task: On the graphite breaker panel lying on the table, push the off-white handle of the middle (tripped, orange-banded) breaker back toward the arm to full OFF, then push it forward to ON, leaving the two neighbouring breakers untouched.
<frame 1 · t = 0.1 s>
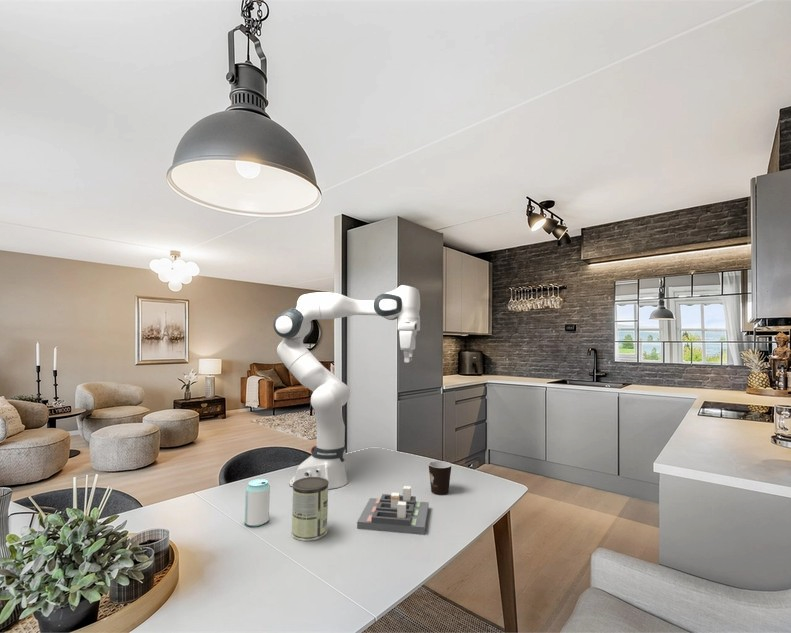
hand: (408, 361, 152), 48 cm above the table, fingers open, 8 cm apart
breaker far: (407, 495, 129), point 5 cm above the table, slide at 3.0 cm
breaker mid: (395, 502, 123), point 5 cm above the table, slide at 0.0 cm
coffee can: (309, 533, 113), on the table
can: (256, 522, 119), on the table
coffee mug: (439, 490, 147), on the table
breaker near: (401, 511, 117), point 5 cm above the table, slide at 3.0 cm
panel: (394, 517, 123), on the table
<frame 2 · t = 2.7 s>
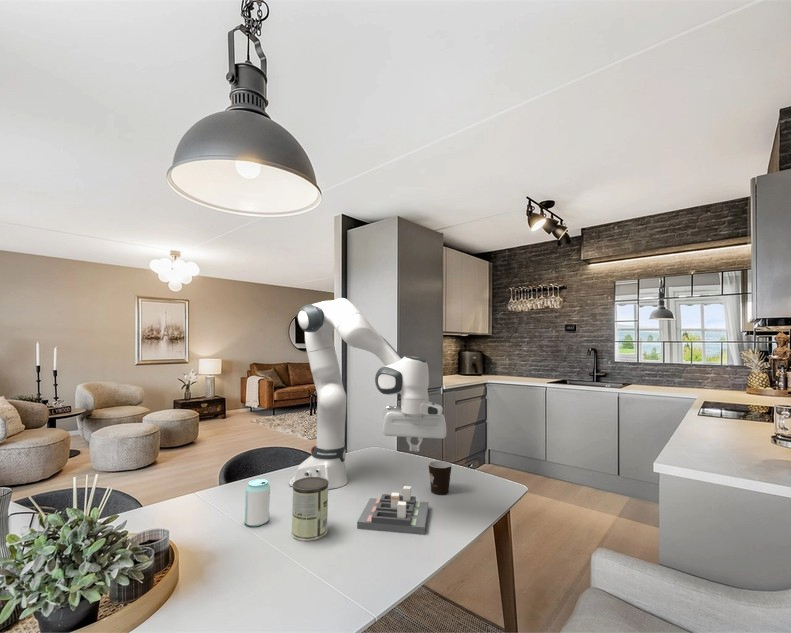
hand: (414, 451, 124), 21 cm above the table, fingers closed
nothing on the table moved.
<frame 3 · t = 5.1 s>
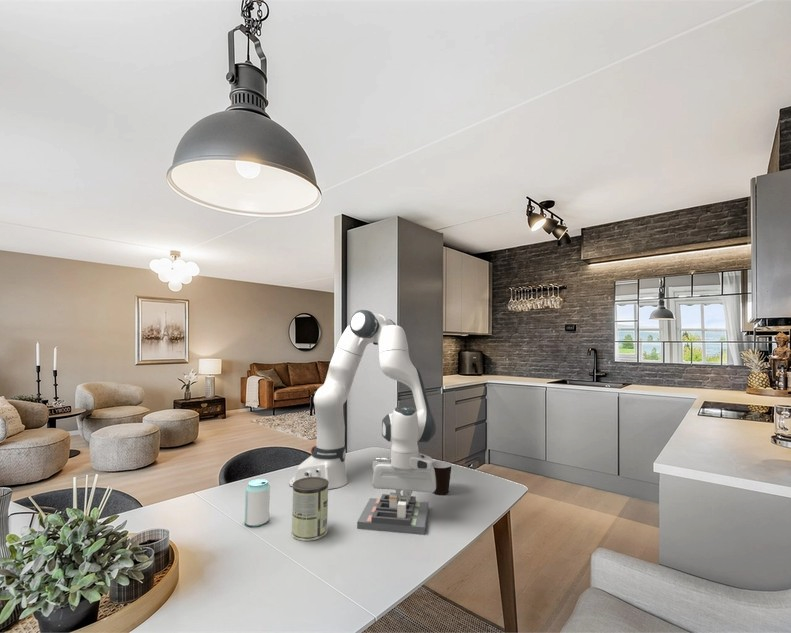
hand: (403, 503, 123), 4 cm above the table, fingers closed
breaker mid: (393, 502, 124), point 5 cm above the table, slide at -0.5 cm, touching gripper
everything else where it was.
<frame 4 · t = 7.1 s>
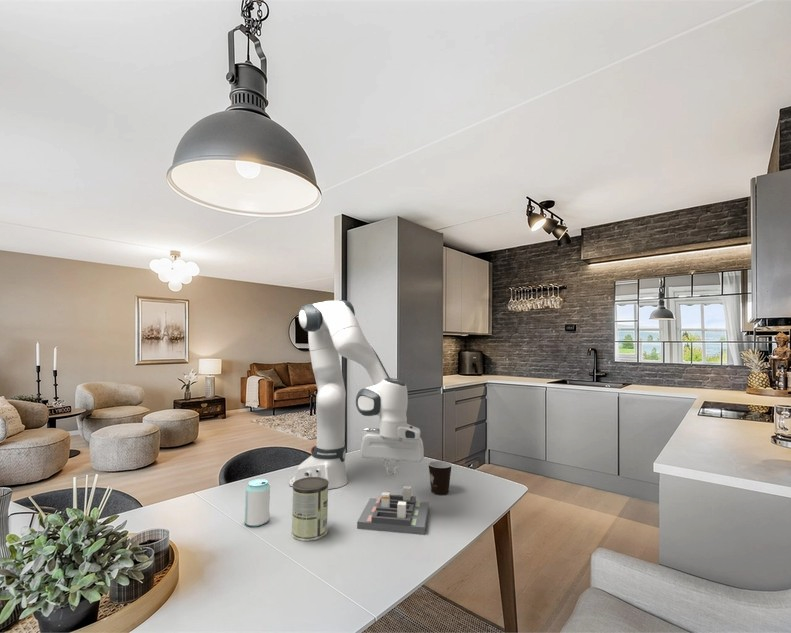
hand: (391, 473, 124), 14 cm above the table, fingers closed
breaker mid: (385, 501, 124), point 5 cm above the table, slide at -3.1 cm
everything else where it was.
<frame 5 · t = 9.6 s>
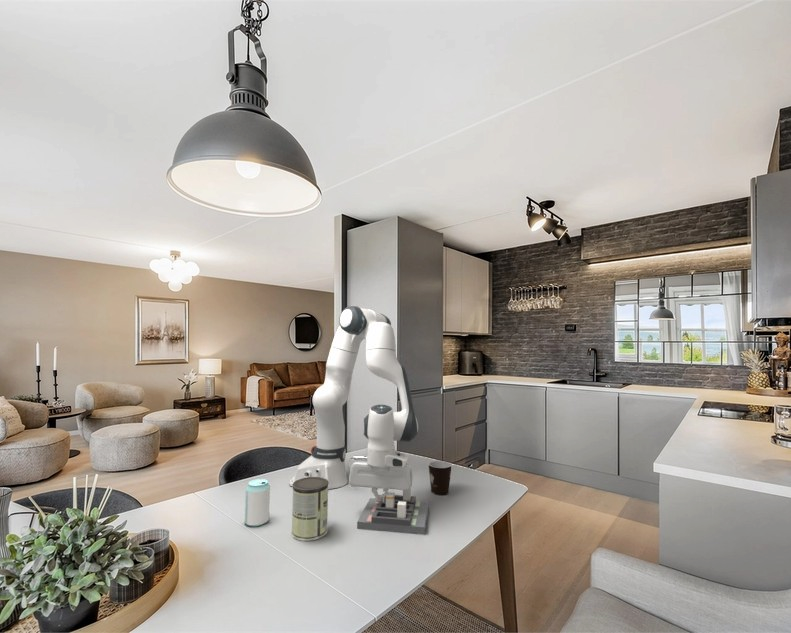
hand: (380, 501, 124), 5 cm above the table, fingers closed
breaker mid: (390, 501, 124), point 5 cm above the table, slide at -1.6 cm, touching gripper
everything else where it was.
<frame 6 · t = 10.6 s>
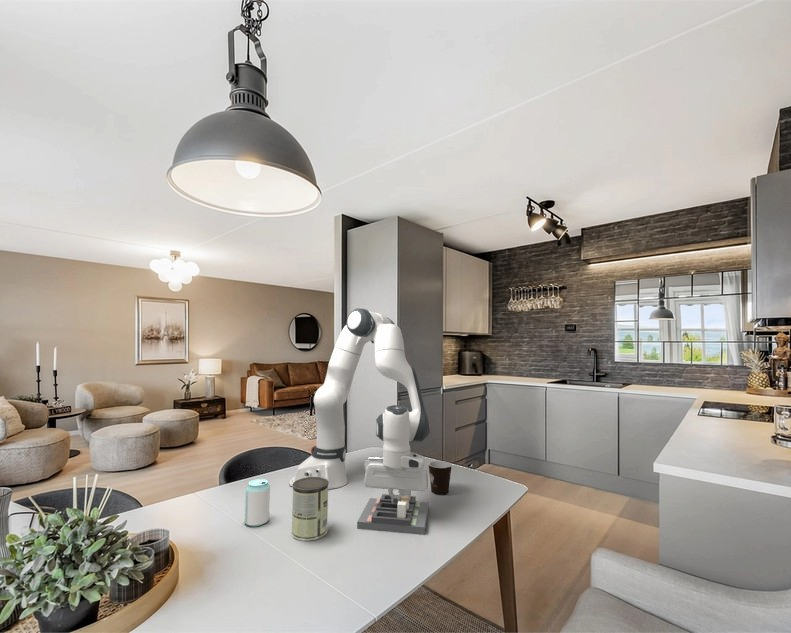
hand: (395, 502, 123), 5 cm above the table, fingers closed
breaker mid: (405, 503, 123), point 5 cm above the table, slide at 3.2 cm, touching gripper
everything else where it was.
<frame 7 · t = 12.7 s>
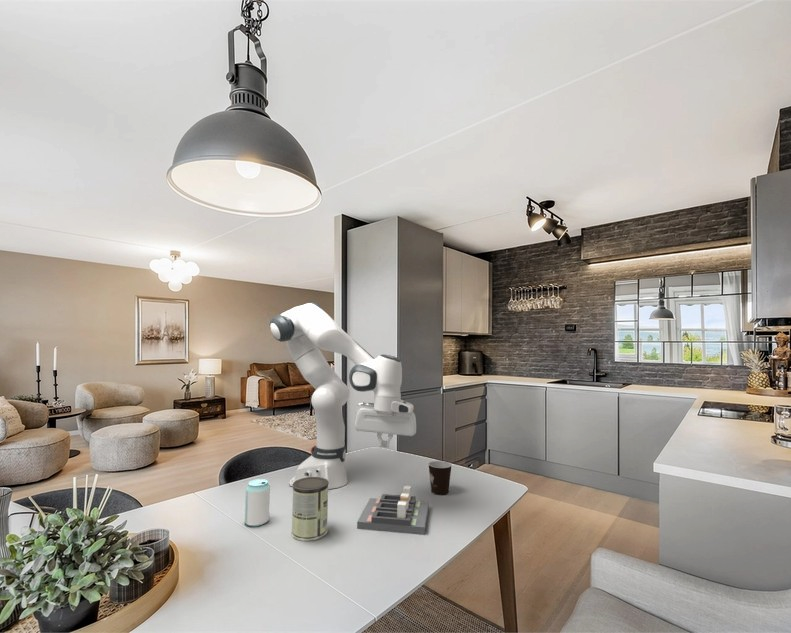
hand: (384, 446, 128), 21 cm above the table, fingers closed
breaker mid: (404, 503, 123), point 5 cm above the table, slide at 3.1 cm
everything else where it was.
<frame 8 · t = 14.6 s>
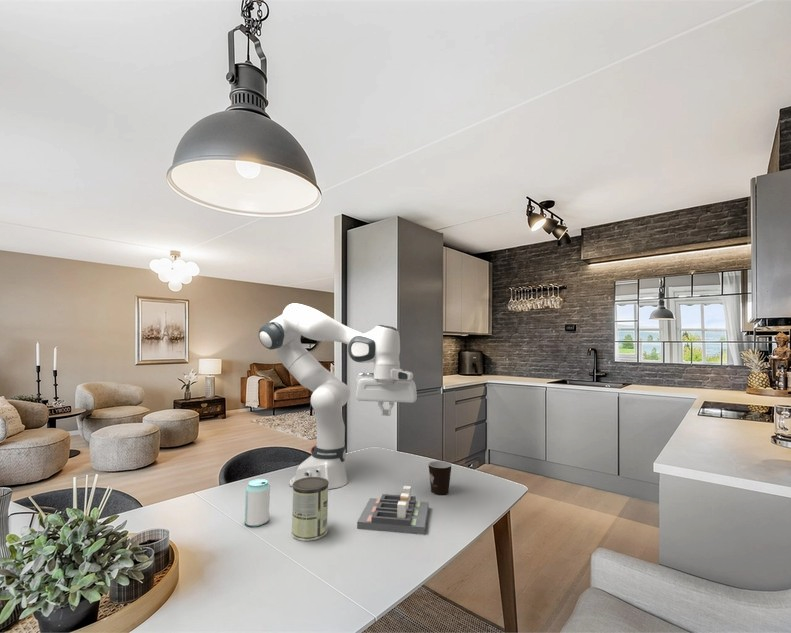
hand: (386, 415, 130), 31 cm above the table, fingers closed
nothing on the table moved.
at the end: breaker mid slide at 3.1 cm; breaker near slide at 3.0 cm; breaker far slide at 3.0 cm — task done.
